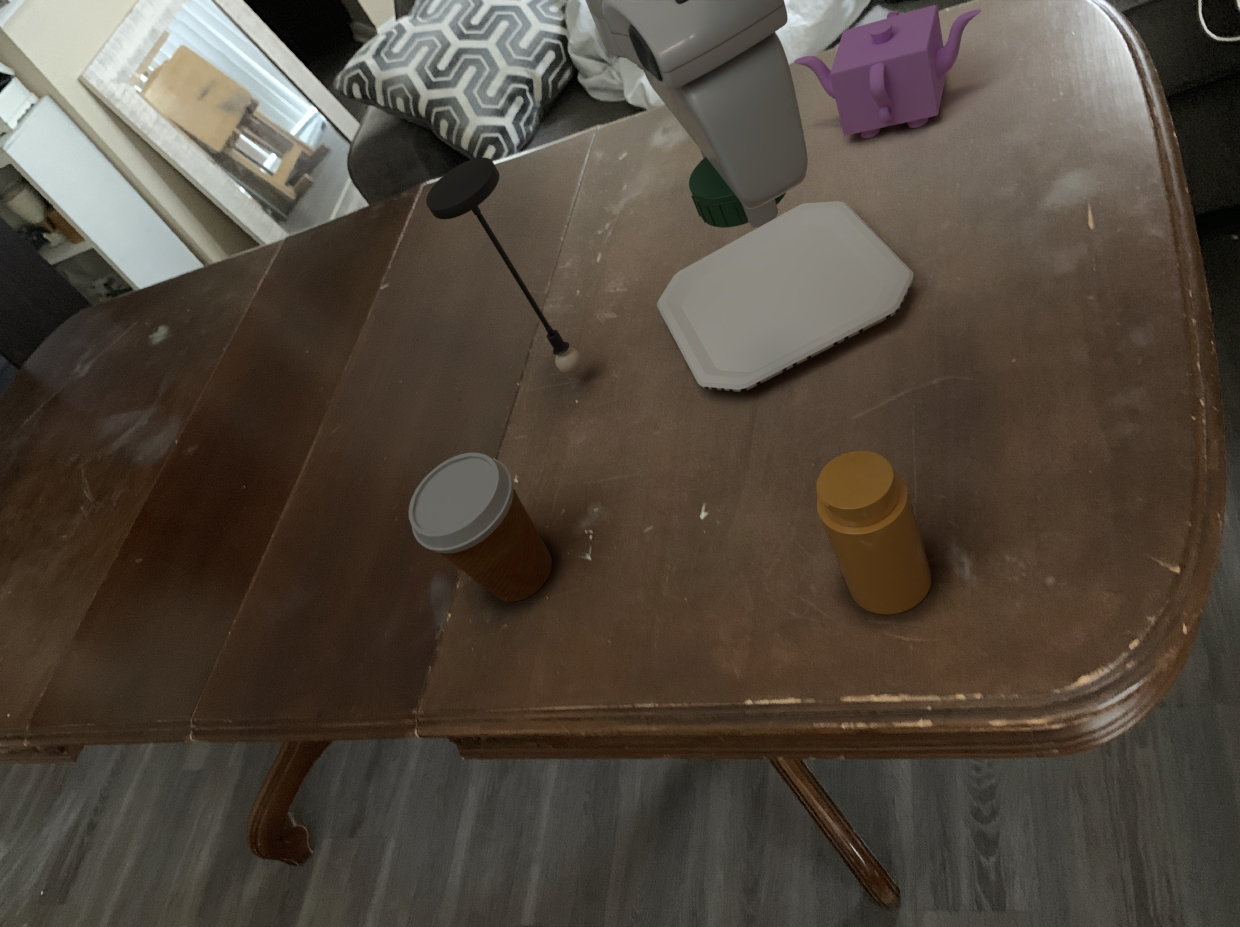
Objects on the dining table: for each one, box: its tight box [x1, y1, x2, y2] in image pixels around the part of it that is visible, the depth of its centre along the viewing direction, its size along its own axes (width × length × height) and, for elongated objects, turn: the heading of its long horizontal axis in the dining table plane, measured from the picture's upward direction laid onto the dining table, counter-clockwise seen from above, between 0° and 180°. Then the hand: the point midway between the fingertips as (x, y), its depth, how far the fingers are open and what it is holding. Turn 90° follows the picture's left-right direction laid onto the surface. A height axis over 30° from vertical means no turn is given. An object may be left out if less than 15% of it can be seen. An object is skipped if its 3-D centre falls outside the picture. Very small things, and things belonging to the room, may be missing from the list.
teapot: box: [793, 4, 982, 139], centre depth 93 cm, size 18×13×10 cm
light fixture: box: [425, 157, 582, 375], centre depth 85 cm, size 7×7×25 cm
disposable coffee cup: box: [408, 452, 553, 603], centre depth 77 cm, size 10×10×12 cm
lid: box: [688, 157, 787, 229], centre depth 57 cm, size 6×6×2 cm
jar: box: [815, 450, 932, 616], centre depth 60 cm, size 6×6×12 cm
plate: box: [656, 200, 915, 393], centre depth 86 cm, size 21×21×2 cm
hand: (742, 193), depth 57 cm, fingers closed on lid, 6 cm apart
